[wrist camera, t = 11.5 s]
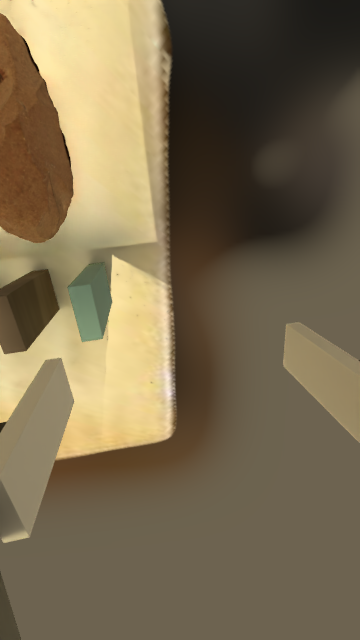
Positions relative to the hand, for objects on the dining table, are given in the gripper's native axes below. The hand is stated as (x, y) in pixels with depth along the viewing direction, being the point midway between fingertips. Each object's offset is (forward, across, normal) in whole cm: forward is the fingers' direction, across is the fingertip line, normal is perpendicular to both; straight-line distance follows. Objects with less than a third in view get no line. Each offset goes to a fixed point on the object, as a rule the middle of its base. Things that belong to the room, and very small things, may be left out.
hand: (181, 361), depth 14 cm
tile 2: (+21, -13, 0) cm, 25 cm away
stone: (+18, -15, +17) cm, 29 cm away
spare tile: (+21, -7, 0) cm, 22 cm away
